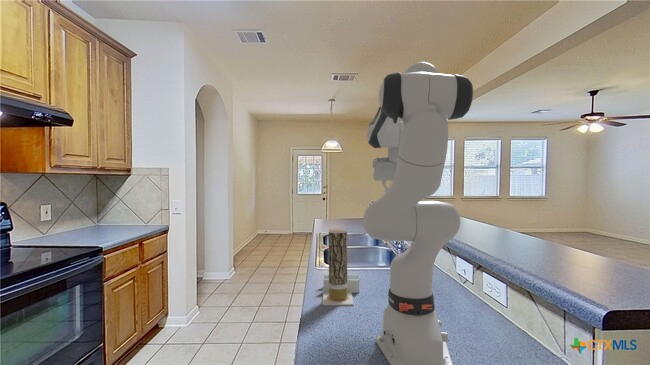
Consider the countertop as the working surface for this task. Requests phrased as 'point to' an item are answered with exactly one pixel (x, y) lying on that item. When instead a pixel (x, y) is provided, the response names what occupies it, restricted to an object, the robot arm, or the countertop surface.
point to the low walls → (351, 283)
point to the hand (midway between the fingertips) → (399, 192)
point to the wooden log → (338, 264)
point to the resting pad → (329, 301)
